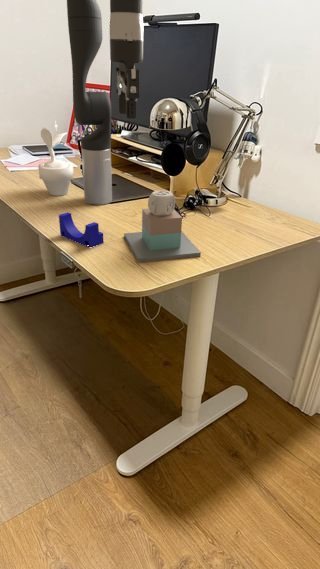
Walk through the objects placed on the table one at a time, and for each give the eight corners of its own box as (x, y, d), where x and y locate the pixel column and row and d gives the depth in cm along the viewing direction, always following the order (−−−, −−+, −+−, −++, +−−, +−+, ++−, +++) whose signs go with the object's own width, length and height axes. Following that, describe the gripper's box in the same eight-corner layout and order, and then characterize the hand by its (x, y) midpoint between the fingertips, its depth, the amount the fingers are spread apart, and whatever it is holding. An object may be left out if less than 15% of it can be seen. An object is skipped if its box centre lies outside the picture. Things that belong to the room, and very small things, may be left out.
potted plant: (56, 200, 133) (48, 120, 120) (34, 193, 139) (24, 116, 126) (84, 192, 142) (79, 117, 129) (62, 186, 148) (56, 113, 135)
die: (147, 213, 99) (147, 193, 96) (158, 208, 102) (159, 189, 100) (164, 217, 96) (164, 197, 94) (175, 212, 100) (176, 193, 98)
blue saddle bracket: (103, 243, 104) (102, 222, 101) (90, 248, 101) (89, 226, 98) (73, 231, 111) (71, 210, 108) (60, 236, 108) (58, 215, 105)
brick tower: (124, 236, 108) (123, 204, 104) (179, 232, 112) (181, 201, 108) (138, 262, 95) (138, 227, 91) (200, 256, 99) (203, 222, 95)
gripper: (104, 38, 94) (106, 112, 102) (116, 36, 82) (117, 120, 90) (135, 39, 96) (135, 112, 104) (151, 38, 84) (149, 120, 92)
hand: (127, 115), depth 97 cm, fingers open, 8 cm apart
